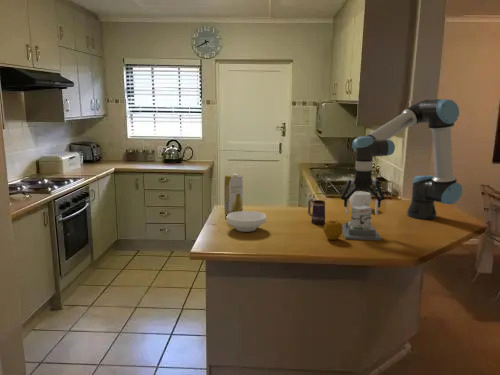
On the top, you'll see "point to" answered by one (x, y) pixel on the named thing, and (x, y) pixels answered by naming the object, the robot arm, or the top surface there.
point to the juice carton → (233, 193)
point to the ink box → (361, 217)
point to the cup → (360, 198)
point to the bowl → (246, 220)
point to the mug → (317, 211)
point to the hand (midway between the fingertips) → (361, 213)
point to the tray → (360, 233)
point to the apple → (333, 230)
